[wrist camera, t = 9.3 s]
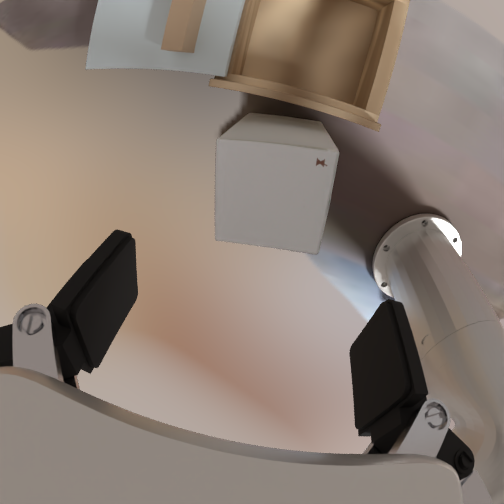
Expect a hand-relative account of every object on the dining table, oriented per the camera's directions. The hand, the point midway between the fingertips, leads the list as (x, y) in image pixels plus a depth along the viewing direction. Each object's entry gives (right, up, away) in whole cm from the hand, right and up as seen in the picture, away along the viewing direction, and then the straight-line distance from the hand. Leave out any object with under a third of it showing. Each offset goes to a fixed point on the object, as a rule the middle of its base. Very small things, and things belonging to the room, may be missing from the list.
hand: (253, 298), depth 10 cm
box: (+5, +21, +11) cm, 24 cm away
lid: (-7, +21, +5) cm, 23 cm away
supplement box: (+3, +12, +18) cm, 21 cm away
